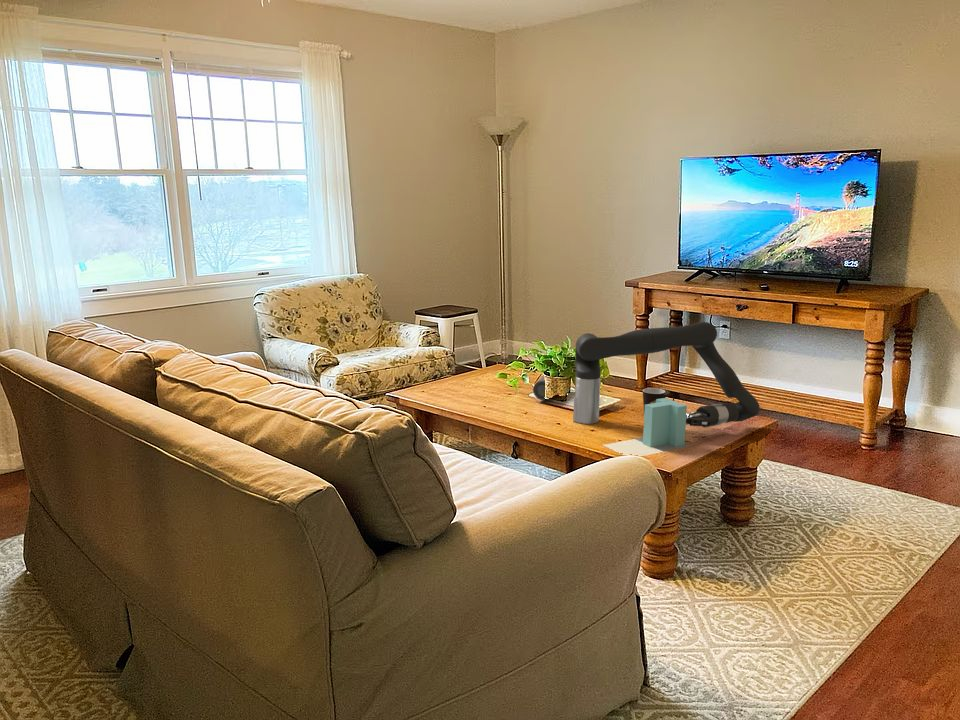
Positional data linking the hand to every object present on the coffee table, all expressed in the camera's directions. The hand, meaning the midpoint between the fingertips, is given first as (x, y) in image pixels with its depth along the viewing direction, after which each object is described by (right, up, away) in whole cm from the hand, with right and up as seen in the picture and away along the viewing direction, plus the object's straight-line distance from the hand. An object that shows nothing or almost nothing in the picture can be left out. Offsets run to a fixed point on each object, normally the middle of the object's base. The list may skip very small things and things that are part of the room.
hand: (675, 421), depth 274 cm
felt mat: (-11, -9, -4) cm, 14 cm away
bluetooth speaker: (-38, +6, +60) cm, 71 cm away
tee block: (-6, -7, -2) cm, 9 cm away
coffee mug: (+1, -1, +32) cm, 32 cm away
